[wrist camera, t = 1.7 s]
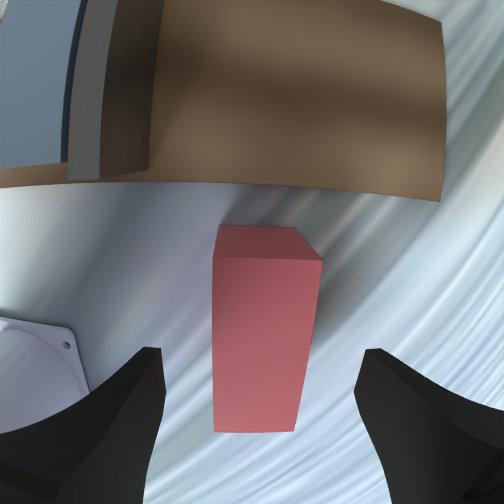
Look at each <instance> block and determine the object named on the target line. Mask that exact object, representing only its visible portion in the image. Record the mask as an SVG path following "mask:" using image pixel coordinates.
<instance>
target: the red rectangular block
mask: <svg viewBox="0 0 504 504" xmlns="http://www.w3.org/2000/svg"><path fill="white" fill-rule="evenodd" d="M322 263H323V260H322V259H321V258H320V257H319V255H318V254H317V253H316V252H315V251H314V249H313V248H312V247H311V246H310V245H309V244H308V242H307V241H306V240H305V239H304V238H303V237H302V235H301V234H300V233H299V232H298V231H297V230H296V228H290V227H268V226H244V225H219V228H218V233H217V238H216V244H215V249H214V254H213V286H212V358H213V411H214V432H227V433H264V432H290V431H294V428H295V423H296V419H297V414H298V409H299V404H300V399H301V394H302V389H303V384H304V379H305V373H306V368H307V362H308V357H309V351H310V345H311V339H312V333H313V327H314V320H315V314H316V307H317V300H318V293H319V286H320V279H321V271H322Z"/></svg>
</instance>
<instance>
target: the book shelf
mask: <svg viewBox="0 0 504 504" xmlns="http://www.w3.org/2000/svg"><path fill="white" fill-rule="evenodd" d="M1 24H2V20H1V21H0V28H1ZM445 140H446V75H445V58H444V46H443V36H442V27H441V22H439V21H436V20H434V19H432V18H429V17H427V16H424V15H422V14H419V13H416V12H414V11H411V10H408V9H405V8H402V7H400V6H397V5H394V4H390V3H387V2H384V1H381V0H164V5H163V11H162V18H161V24H160V31H159V39H158V46H157V55H156V63H155V73H154V83H153V95H152V108H151V123H150V143H149V170H146V171H140V172H135V173H129V174H123V175H118V176H113V177H108V178H103V179H90V180H68V162H65V163H53V164H42V165H32V166H23V167H15V168H7V169H0V188H9V187H22V186H35V185H51V184H70V183H96V182H215V183H242V184H262V185H279V186H295V187H308V188H321V189H333V190H343V191H354V192H364V193H373V194H382V195H390V196H399V197H406V198H414V199H422V200H429V201H436V202H440V199H441V191H442V181H443V171H444V158H445Z"/></svg>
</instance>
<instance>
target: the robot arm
mask: <svg viewBox="0 0 504 504" xmlns="http://www.w3.org/2000/svg"><path fill="white" fill-rule="evenodd" d="M66 342H68V343H69V344H70V346H69V345H68V344H67V343H66ZM354 395H355V399H356V403H357V406H358V410H359V413H360V416H361V418H362V420H363V423H364V425H365V427H366V429H367V432H368V434H369V436H370V438H371V440H372V443H373V445H374V447H375V449H376V452H377V454H378V456H379V459H380V461H381V464H382V467H383V470H384V473H385V477H386V481H387V484H388V488H389V492H390V497H391V501H392V504H504V411H503V410H499V409H495V408H491V407H488V406H485V405H482V404H479V403H476V402H473V401H471V400H468V399H466V398H464V397H462V396H459V395H457V394H455V393H453V392H451V391H449V390H447V389H445V388H443V387H442V386H440V385H438V384H436V383H434V382H433V381H431V380H429V379H428V378H426V377H425V376H423V375H421V374H420V373H418V372H417V371H415V370H414V369H412V368H411V367H409V366H408V365H406V364H405V363H403V362H402V361H400V360H399V359H397V358H396V357H394V356H393V355H391V354H389V353H388V352H386V351H384V350H383V349H381V348H378V349H366V350H365V354H364V358H363V361H362V365H361V368H360V372H359V375H358V379H357V382H356V385H355V389H354ZM165 397H166V388H165V380H164V372H163V363H162V355H161V348H154V347H143V348H142V349H141V350H139V351H138V352H137V353H136V354H135V355H134V356H133V357H132V358H131V359H130V360H129V361H128V362H127V363H125V364H124V365H123V366H122V367H121V368H120V369H119V370H118V371H117V372H115V373H114V374H113V375H112V376H111V377H110V378H109V379H107V380H106V381H105V382H104V383H102V384H101V385H100V386H99V387H97V388H96V389H95V390H93V391H92V392H91V393H89V389H88V386H87V383H86V379H85V376H84V372H83V368H82V365H81V361H80V357H79V353H78V349H77V345H76V341H75V336H74V334H73V332H72V331H71V330H70V329H68V328H64V327H58V326H51V325H45V324H39V323H33V322H27V321H21V320H16V319H11V318H5V317H0V504H143V496H144V488H145V481H146V474H147V470H148V465H149V461H150V458H151V454H152V451H153V447H154V444H155V440H156V437H157V434H158V430H159V427H160V423H161V420H162V416H163V410H164V403H165Z"/></svg>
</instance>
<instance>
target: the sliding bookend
mask: <svg viewBox="0 0 504 504" xmlns="http://www.w3.org/2000/svg"><path fill="white" fill-rule="evenodd" d="M163 5H164V0H88V3H87V7H86V11H85V15H84V20H83V25H82V29H81V35H80V40H79V45H78V51H77V57H76V64H75V71H74V79H73V87H72V97H71V108H70V121H69V141H68V180H90V179H103V178H108V177H113V176H118V175H123V174H129V173H135V172H140V171H146V170H149V143H150V123H151V108H152V95H153V83H154V73H155V63H156V55H157V46H158V39H159V31H160V24H161V18H162V11H163Z"/></svg>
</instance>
